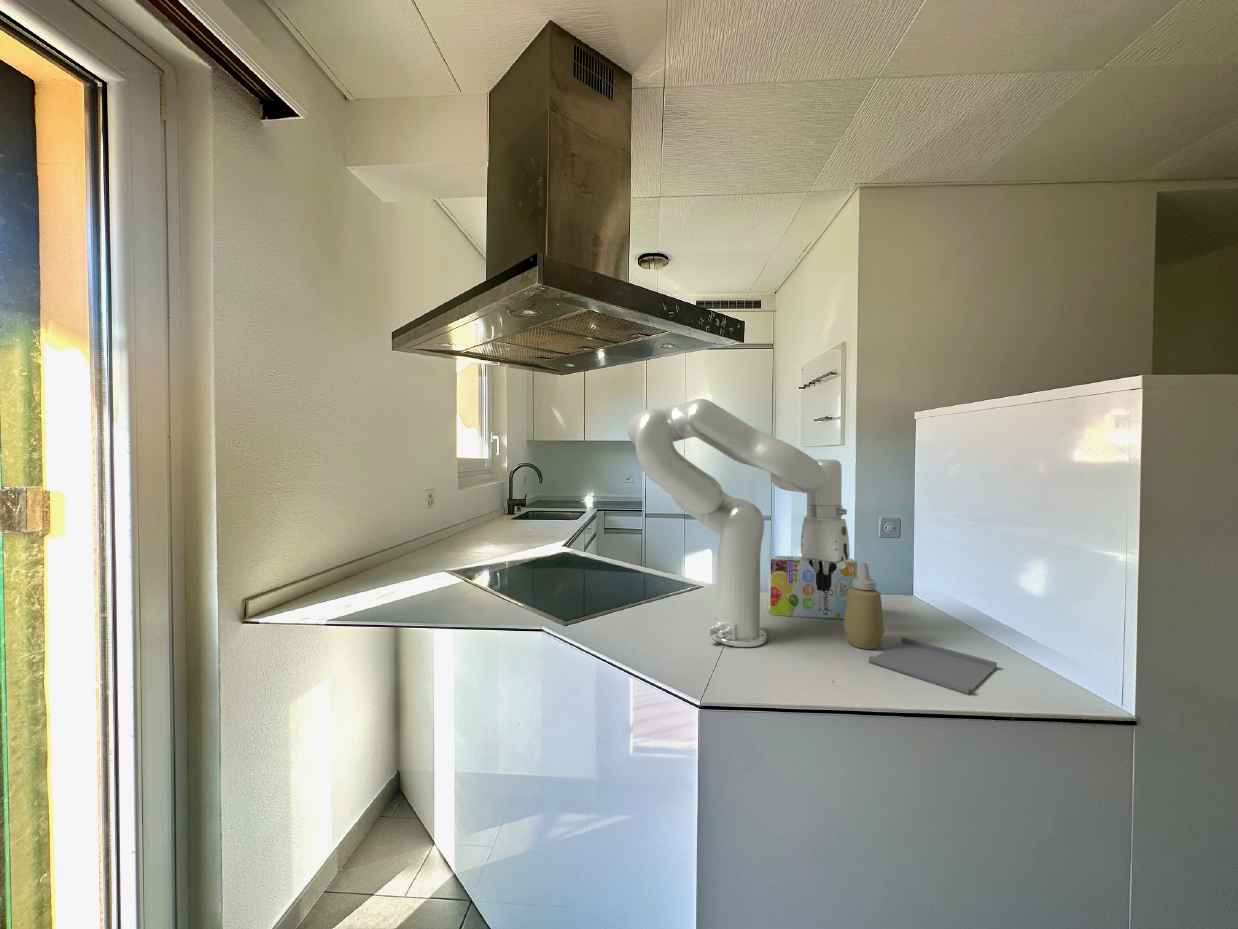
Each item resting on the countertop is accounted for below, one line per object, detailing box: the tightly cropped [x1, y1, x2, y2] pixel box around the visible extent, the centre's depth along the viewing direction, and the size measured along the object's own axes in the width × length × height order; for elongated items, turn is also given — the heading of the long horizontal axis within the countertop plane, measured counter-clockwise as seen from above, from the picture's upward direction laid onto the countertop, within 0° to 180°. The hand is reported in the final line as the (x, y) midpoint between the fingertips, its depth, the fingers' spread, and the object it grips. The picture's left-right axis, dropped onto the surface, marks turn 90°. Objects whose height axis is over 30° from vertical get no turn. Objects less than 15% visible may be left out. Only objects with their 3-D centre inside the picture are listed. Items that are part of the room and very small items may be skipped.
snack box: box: [767, 554, 858, 620], centre depth 128 cm, size 21×6×15 cm, turn 80°
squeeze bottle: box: [842, 562, 885, 650], centre depth 108 cm, size 8×8×18 cm
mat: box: [868, 636, 998, 696], centre depth 98 cm, size 17×17×1 cm
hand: (823, 589), depth 115 cm, fingers closed
